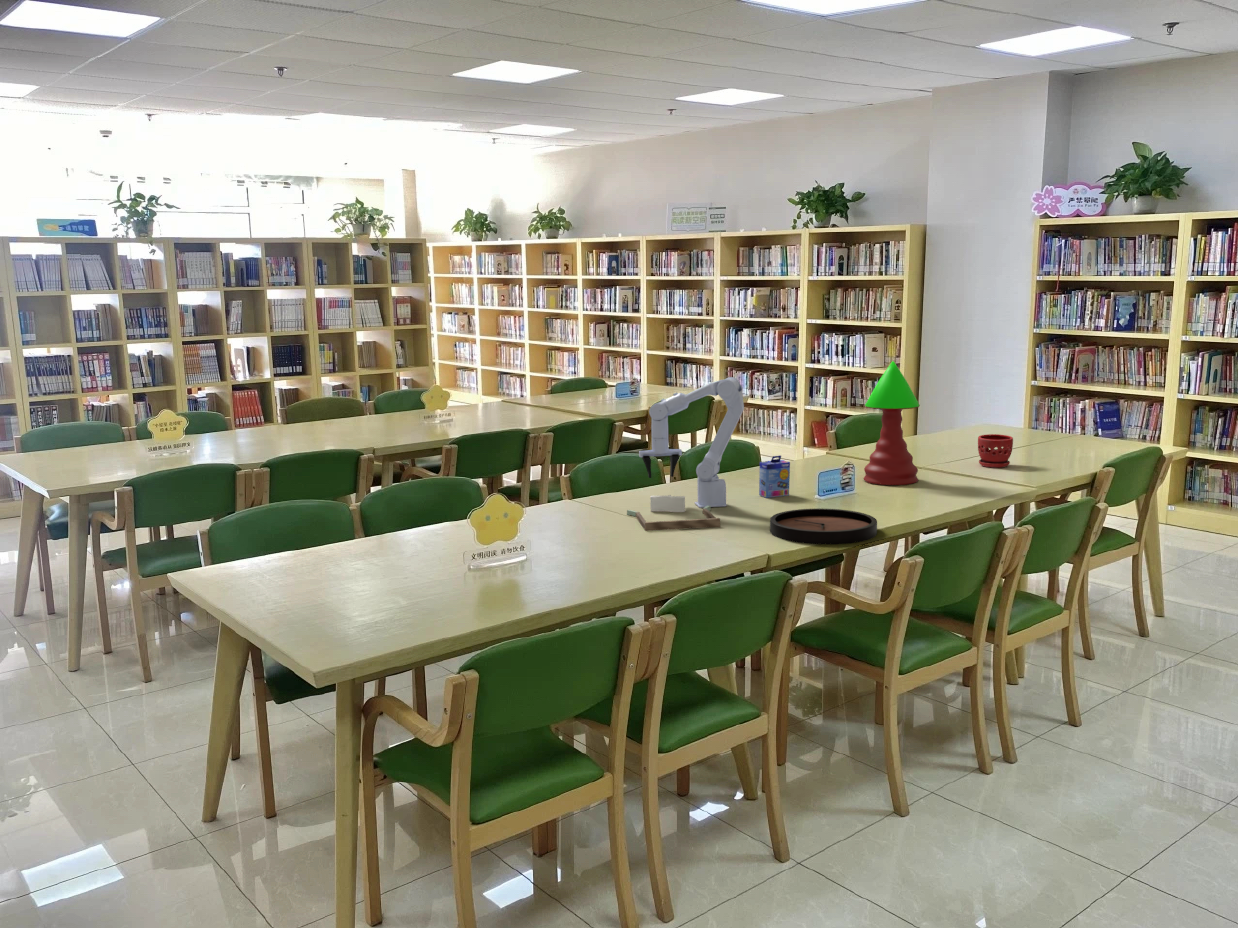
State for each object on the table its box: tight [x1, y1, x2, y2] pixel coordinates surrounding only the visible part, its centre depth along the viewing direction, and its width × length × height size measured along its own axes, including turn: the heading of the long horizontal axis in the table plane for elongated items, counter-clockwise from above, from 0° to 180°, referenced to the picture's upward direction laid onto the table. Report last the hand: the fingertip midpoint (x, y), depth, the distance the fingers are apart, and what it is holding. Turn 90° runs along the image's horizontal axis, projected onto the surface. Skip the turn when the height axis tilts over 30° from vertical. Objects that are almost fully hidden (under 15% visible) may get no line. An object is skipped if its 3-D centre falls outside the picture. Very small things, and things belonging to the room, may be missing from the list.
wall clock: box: [769, 508, 878, 546], centre depth 301 cm, size 31×4×31 cm
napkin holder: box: [649, 494, 686, 513], centre depth 335 cm, size 15×11×6 cm
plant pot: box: [977, 433, 1014, 469], centre depth 400 cm, size 13×13×12 cm
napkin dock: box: [626, 506, 721, 532], centre depth 321 cm, size 28×24×2 cm
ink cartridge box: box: [758, 455, 791, 499], centre depth 354 cm, size 10×6×14 cm, turn 115°
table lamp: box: [863, 360, 920, 486], centre depth 373 cm, size 20×20×45 cm
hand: (660, 476), depth 346 cm, fingers open, 7 cm apart
